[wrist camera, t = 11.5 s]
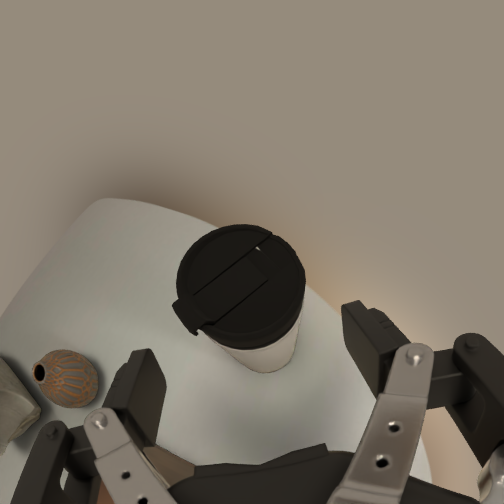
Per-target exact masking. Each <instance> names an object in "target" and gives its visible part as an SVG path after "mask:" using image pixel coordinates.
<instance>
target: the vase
mask: <svg viewBox="0 0 504 504" xmlns="http://www.w3.org/2000/svg"><path fill="white" fill-rule="evenodd" d="M32 376H33V379H34V381H35V382H36V383H37V384H38V385H39V387H40V388H41V390H42V392H43V393H44V395H45V396H46V397H47V398H48V399H49V400H51V401H52V402H54V403H55V404H57V405H59V406H62V407H66V408H79V407H82V406H85V405H87V404H88V403H90V402H91V401H92V400H93V399H94V397H95V396H96V393H97V390H98V376H97V373H96V370H95V368H94V367H93V365H92V364H91V363H90V362H89V361H88V360H87V359H86V358H85V357H84V356H82V355H80V354H78V353H76V352H73V351H70V350H55V351H52V352H50V353H48V354H46V355H45V356H44V357H43V358H42V359H41V361H38V362H36V363H35V364H34V366H33V368H32Z"/></svg>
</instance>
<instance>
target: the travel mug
mask: <svg viewBox="0 0 504 504" xmlns="http://www.w3.org/2000/svg"><path fill="white" fill-rule="evenodd" d="M305 284H306V278H305V270H304V268H303V266H302V264H301V262H300V260H299V258H298V256H297V255H296V252H295V251H294V249H292V247H291V246H290V245H289V244H288V243H287V242H285V241H284V240H283V239H282V238H281V237H279V236H276V235H273V234H272V232H271V231H268V230H266V229H264V228H262V227H259V226H255V225H248V224H241V225H240V224H239V225H238V224H237V225H230V226H225V227H221V228H219V229H216V230H213V231H211V232H209V233H208V234H206V235H204V236H202V237H201V238H200V239H199V240H197V241H196V242H195V243H194V244H193V245H192V246H191V247H190V249H189V250H188V251H187V252H186V254H185V256H184V257H183V259H182V261H181V263H180V266H179V269H178V272H177V280H176V288H177V295H178V300H176V301H175V302H174V303H173V304H172V307H173V309H174V311H175V313H176V315H177V316H178V317H179V319H180V320H181V322H182V323H183V325H184V326H185V327H186V328H187V329H188V331H189V332H190V333H192V334H193V335H195V336H197V335H198V332H197V330H198V329H200V330H202V331H203V332H204V333H205V334H206V335H207V336H208V337H209V338H210V339H211V340H212V341H214V342H215V343H216V344H217V345H219V346H220V347H221V348H222V349H224V350H225V351H226V352H228V353H229V354H230V355H232V356H233V357H234V358H236V359H237V360H238V361H240V362H241V363H242V364H244V365H245V366H246V367H248V368H249V369H251V370H253V371H256V372H260V373H270V372H274V371H277V370H279V369H281V368H282V367H284V366H285V365H286V364H287V363H288V362H289V361H290V359H291V357H292V355H293V353H294V349H295V344H296V340H297V335H298V330H299V325H300V320H301V315H302V310H303V303H304V292H305Z"/></svg>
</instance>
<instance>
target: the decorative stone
mask: <svg viewBox="0 0 504 504" xmlns="http://www.w3.org/2000/svg"><path fill="white" fill-rule="evenodd" d="M40 413H41V408H40V407H39V405H38V404H37V403H36V401H35V400H34V399H33V397H32V396H31V395H30V394H29V392H28V391H27V390H26V388H25V387H24V385H23V384H22V383H21V381H20V380H19V379H18V377H17V376H16V375H15V374H14V372H13V371H12V370H11V369H10V367H9V366H8V365H7V364H6V363H5V361H4V360H3V359H2V358H1V357H0V456H2V455H3V453H4V452H5V449H6V447H7V445H8V443H9V442H10V441H12V440H13V439H15V438H17V437H19V436H20V435H22V434H23V433H24V432H25V431H26V430H27V429H28V428H29V427H30V426H31V425H32V424H33V423H34V422H36V421H37V420H38V419H39V417H40V415H39V414H40Z"/></svg>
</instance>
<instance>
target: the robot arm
mask: <svg viewBox="0 0 504 504" xmlns="http://www.w3.org/2000/svg"><path fill="white" fill-rule="evenodd" d="M341 313H342V324H343V336H344V341H345V345H346V348H347V350H348V352H349V353H350V355H351V357H352V358H353V360H354V362H355V364H356V365H357V367H358V369H359V370H360V372H361V374H362V376H363V377H364V379H365V381H366V382H367V384H368V386H369V388H370V389H371V391H372V393H373V395H374V396H375V398H376V400H377V401H376V403H375V406H374V409H373V411H372V414H371V416H370V419H369V421H368V424H367V426H366V429H365V431H364V434H363V436H362V438H361V441H360V443H359V445H358V447H357V450H356V452H355V453H353V452H347V451H328V450H327V447H326V444H325V443H323V444H319V445H316V446H312V447H308V448H304V449H300V450H296V451H292V452H290V453H287V454H285V455H283V456H281V457H278V458H276V459H273V460H271V461H268V462H266V463H263V464H260V465H247V464H231V463H222V464H213V465H203V466H194V475H192V476H189V477H187V478H184V479H182V480H180V481H178V482H177V483H175V484H173V485H172V486H170V485H169V484H168V483H167V481H166V480H165V479H164V478H163V476H162V475H161V474H160V473H159V471H158V470H157V469H156V467H155V466H154V465H153V463H152V462H151V461H150V459H149V458H148V456H147V455H146V454H145V453H144V451H143V449H144V447H155V443H156V437H157V432H158V427H159V422H160V417H161V413H162V408H163V403H164V398H165V394H166V388H167V386H166V380H165V377H164V374H163V372H162V370H161V368H160V366H159V364H158V362H157V360H156V358H155V356H154V353H153V352H152V350H151V349H149V348H148V349H141V350H135V351H133V352H132V353H131V355H130V358H129V360H128V362H127V363H124V364H123V366H122V367H121V368H120V369H119V370H118V371H117V373H116V375H115V377H114V381H113V382H112V384H111V388H110V389H109V391H108V393H107V396H106V398H105V400H104V403H103V405H102V408H99V409H96V410H94V411H92V412H91V413H90V414H89V415H88V416H87V417H86V418H85V420H84V424H83V425H82V426H78V427H74V428H70V429H68V428H67V426H66V425H65V424H64V423H63V422H62V421H58V420H56V421H52V422H49V423H47V424H46V425H45V426H44V427H43V428H42V429H41V430H40V432H39V434H38V436H37V439H36V441H35V443H34V445H33V448H32V450H31V452H30V454H29V457H28V459H27V461H26V464H25V466H24V469H23V471H22V474H21V476H20V479H19V481H18V484H17V487H16V489H15V492H14V495H13V498H12V500H11V503H10V504H97V500H98V495H99V490H100V485H101V480H103V482H104V484H105V486H106V488H107V490H108V492H109V494H110V496H111V497H112V499H113V501H114V503H115V504H504V355H503V354H502V353H501V352H500V351H498V349H497V348H495V347H494V346H493V345H492V344H491V343H490V342H489V341H488V340H487V339H486V338H485V337H483V336H482V335H480V334H476V333H466V334H463V335H460V336H459V337H458V338H457V339H456V340H455V342H454V346H453V349H447V350H442V351H434V352H433V351H432V349H431V348H430V347H428V346H427V345H424V344H421V343H411V342H410V341H409V340H408V339H407V338H406V336H405V335H404V334H403V333H402V332H401V331H400V330H399V329H398V328H397V327H396V326H395V325H394V323H393V322H392V321H391V320H390V319H389V318H388V317H387V316H386V315H385V313H383V312H382V311H379V310H377V309H375V308H371V309H367V308H366V307H365V306H364V305H363V304H362V303H361V302H360V300H357V301H354V302H351V303H347V304H343V305H342V306H341ZM444 406H445V408H446V410H447V411H448V413H449V414H450V416H451V417H452V419H453V420H454V422H455V423H456V425H457V426H458V428H459V430H460V432H461V433H462V435H463V436H464V438H465V440H466V441H467V443H468V445H469V446H470V448H471V449H472V451H473V453H474V455H475V456H476V458H477V460H478V461H479V463H480V465H481V466H482V470H481V472H480V474H479V476H478V480H477V484H478V488H479V492H480V498H479V501H477V500H476V499H474V498H472V497H469V496H466V495H462V494H459V493H456V492H453V491H450V490H447V489H444V488H441V487H439V486H436V485H433V484H430V483H428V482H425V481H422V480H420V479H417V478H415V477H412V476H410V475H409V473H410V470H411V466H412V463H413V460H414V456H415V453H416V449H417V445H418V442H419V438H420V434H421V430H422V425H423V421H424V416H425V412H426V410H427V409H433V408H439V407H444ZM63 468H65V469H66V470H67V471H68V472H69V473H68V477H67V480H66V483H65V487H64V490H62V488H61V486H60V478H61V474H62V471H63Z"/></svg>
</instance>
